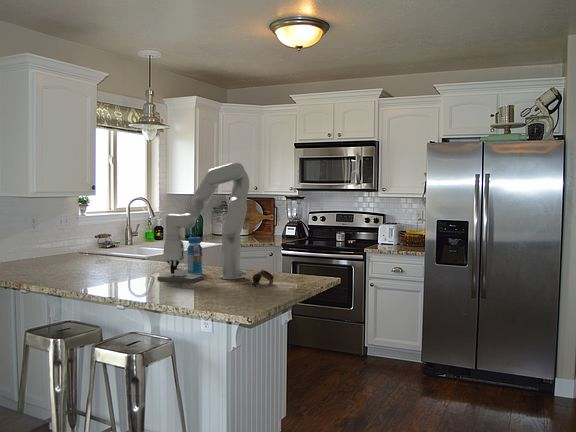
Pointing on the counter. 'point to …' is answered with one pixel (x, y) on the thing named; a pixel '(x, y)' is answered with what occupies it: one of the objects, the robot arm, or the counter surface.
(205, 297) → the counter surface
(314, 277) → the counter surface
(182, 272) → the fader knob
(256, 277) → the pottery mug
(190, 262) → the blue lidded canister
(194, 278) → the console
